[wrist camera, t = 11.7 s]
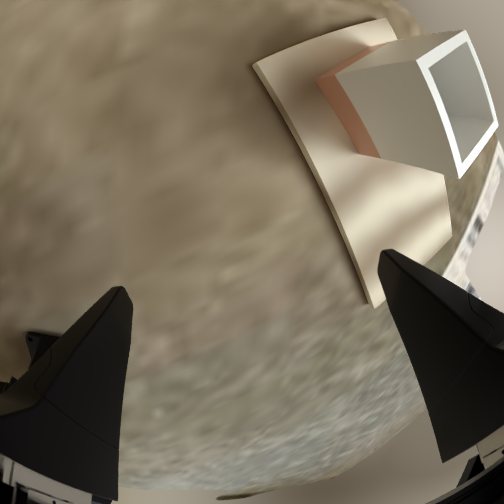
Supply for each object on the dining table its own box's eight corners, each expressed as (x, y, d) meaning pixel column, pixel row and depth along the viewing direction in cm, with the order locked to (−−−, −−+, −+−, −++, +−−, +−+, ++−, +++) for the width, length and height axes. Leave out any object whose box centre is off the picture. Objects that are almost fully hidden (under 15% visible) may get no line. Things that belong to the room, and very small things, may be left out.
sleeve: (406, 114, 19) (498, 125, 11) (359, 154, 19) (459, 179, 11) (370, 46, 15) (465, 29, 8) (314, 80, 16) (416, 60, 8)
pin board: (446, 233, 27) (471, 246, 24) (368, 303, 27) (392, 325, 23) (378, 20, 15) (410, 10, 12) (251, 65, 15) (273, 49, 12)
